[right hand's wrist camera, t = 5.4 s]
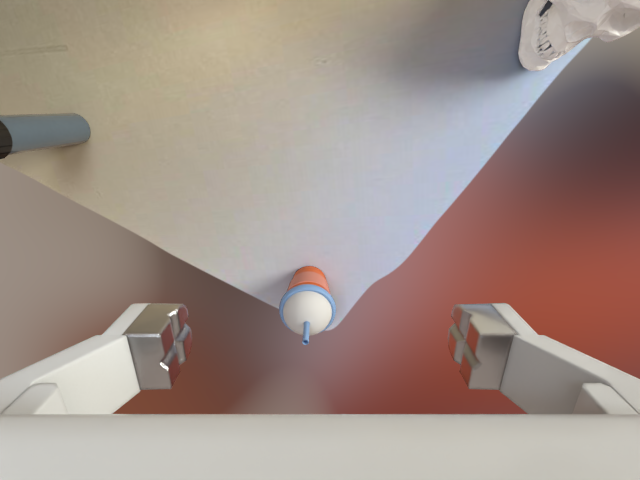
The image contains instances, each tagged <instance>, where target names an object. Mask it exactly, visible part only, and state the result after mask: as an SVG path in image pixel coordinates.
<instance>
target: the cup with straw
mask: <svg viewBox="0 0 640 480" xmlns="http://www.w3.org/2000/svg"><path fill="white" fill-rule="evenodd" d="M279 313H280V317H281V319H282V321H283V323H284V324H285V325H286V327H288V328H289V329H290V330H292V331H293V332H295V333H297V334H300V335H303V341H302V343H303V344H304V345H307V344H308V343H309V336H310V335H315V334H317V333H320V332H322V331H324V330H325V329H327V328H328V327H329V326H330V325H331V323H332V322H333V320H334V317H335V314H336V306H335V302H334V300H333V298H332V296H331V295H330V291H329V287H328V283H327V281H326V278H325V276H324V274H323V272H322V271H321V270H320V269H318V268H316V267H312V266H306V267H303V268H300V269H299V270H298V271H297V272H296V273H295V275H294V277H293V279H292V280H291V282H290V285H289V287H288V290H287V292H286V293H285V295H284V296H283V298H282V299H281V302H280V306H279Z"/></svg>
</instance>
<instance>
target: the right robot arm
mask: <svg viewBox="0 0 640 480" xmlns="http://www.w3.org/2000/svg"><path fill="white" fill-rule="evenodd" d="M188 317H189V315H188V310H187V307H186V306H185V305H184V304H157V303H152V304H150V303H136V304H132V305H130V306H129V307H128V308H127V310H126V311H125V312H124V313H123V314H122V315H121V316H120V317H119V318H118V319H117V320H116V321H115V322H114V323H113V324H112V325H111V326H110V327H109V328H108V329H107V330H106V331H105V332H104V333H103V334H102V335H96V336H93V337H91V338H89V339H87V340H85V341H83V342H80V343H78V344H76V345H74V346H72V347H69V348H67V349H65V350H63V351H61V352H59V353H56V354H54V355H52V356H50V357H48V358H46V359H43V360H41V361H39V362H37V363H35V364H32V365H30V366H28V367H26V368H24V369H21V370H19V371H17V372H15V373H13V374H11V375H8V376H6V377H4V378H2V379H0V480H640V379H638V378H636V377H633V376H631V375H629V374H627V373H625V372H623V371H620V370H618V369H616V368H614V367H612V366H610V365H607V364H605V363H603V362H601V361H599V360H597V359H594V358H592V357H590V356H588V355H586V354H583V353H581V352H579V351H577V350H575V349H573V348H570V347H568V346H566V345H564V344H562V343H559V342H557V341H555V340H553V339H551V338H549V337H547V336H544V335H538V334H537V333H536V332H535V331H534V330H533V329H532V328H531V327H530V326H529V325H528V324H527V323H526V322H525V321H524V320H523V319H522V318H521V317H520V316H519V315H518V314H517V313H516V312H515V311H514V309H513V308H512V307H511V306H510V305H508V304H506V303H493V304H459V305H454V307H453V309H452V315H451V317H452V319H453V320H454V322H455V323H454V324H453V325H452V326H451V328H449V333H448V346H449V350H450V353H451V356H452V358H453V360H454V361H456V362H457V363H459V364H460V365H461V366H460V373H461V375H462V377H463V379H464V380H465V382H466V384H467V386H468V388H469V389H493V390H500V392H501V393H503V394H504V395H505V396H506V397H508V398H509V399H510V400H511V401H513V402H514V403H515V404H516V405H518V406H519V407H520V408H522V409H523V410H524V411H525V412H526V413H528V414H112V413H114V412H115V411H116V410H117V409H119V408H120V407H121V406H122V405H124V404H125V403H126V402H127V401H129V400H130V399H131V398H132V397H134V396H135V395H136V394H137V393H139V392H140V390H146V389H171V388H172V386H173V384H174V382H175V380H176V379H177V377H178V375H179V373H180V366H179V365H180V364H181V363H183V362H184V361H186V360H187V358H188V356H189V354H190V350H191V345H192V333H191V328H189V326H188V325H187V324H186V323H185V322H186V320H187V319H188Z"/></svg>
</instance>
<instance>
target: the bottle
mask: <svg viewBox="0 0 640 480" xmlns="http://www.w3.org/2000/svg"><path fill="white" fill-rule="evenodd" d="M0 121H1V122H2V123H3V124H4V125H5V126H6V127H7V129H8V130H9V132H10V134H11V137H12V143H13V145H12V150H11V152H10V154H17V153H23V152H30V151H36V150H42V149H49V148H55V147H62V146H68V145H75V144H81V143H84V142H86V141H87V140H88V139H89V137H90V128H89V125H88V123H87V122H86V120H85V119H84V118H83V117H81V116H80V115H78V114H75V113H57V114H19V115H0ZM10 154H8V155H10Z"/></svg>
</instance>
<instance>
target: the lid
mask: <svg viewBox="0 0 640 480" xmlns="http://www.w3.org/2000/svg"><path fill="white" fill-rule="evenodd" d="M12 145H13V143H12V137H11V134H10V132H9V130H8V129H7V127H6V126H5V125H4V124H3V123H2V122H1V121H0V159H2V158H5V157H6V156H7V155H8V154H10V152H11V150H12Z"/></svg>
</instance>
